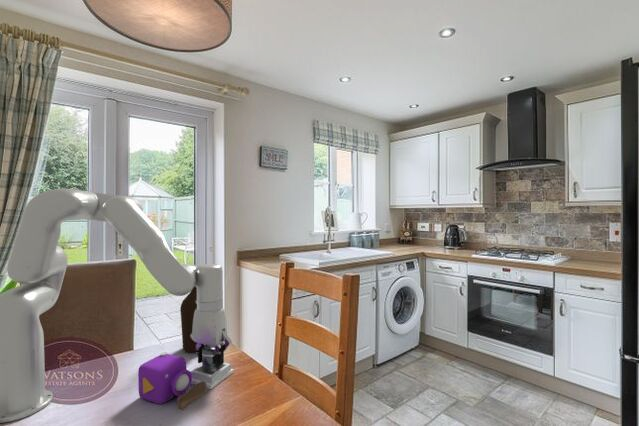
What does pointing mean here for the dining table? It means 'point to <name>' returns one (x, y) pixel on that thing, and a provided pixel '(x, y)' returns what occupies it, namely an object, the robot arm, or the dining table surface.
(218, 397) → the dining table surface
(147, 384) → the toy camera
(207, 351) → the lens
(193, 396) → the rail
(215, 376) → the tray
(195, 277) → the robot arm
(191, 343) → the olive oil
